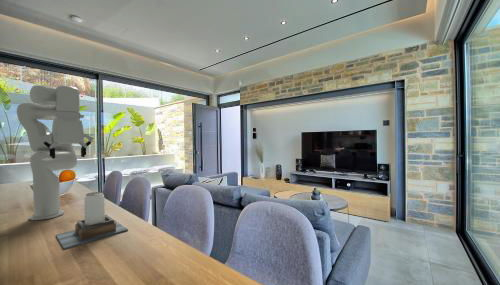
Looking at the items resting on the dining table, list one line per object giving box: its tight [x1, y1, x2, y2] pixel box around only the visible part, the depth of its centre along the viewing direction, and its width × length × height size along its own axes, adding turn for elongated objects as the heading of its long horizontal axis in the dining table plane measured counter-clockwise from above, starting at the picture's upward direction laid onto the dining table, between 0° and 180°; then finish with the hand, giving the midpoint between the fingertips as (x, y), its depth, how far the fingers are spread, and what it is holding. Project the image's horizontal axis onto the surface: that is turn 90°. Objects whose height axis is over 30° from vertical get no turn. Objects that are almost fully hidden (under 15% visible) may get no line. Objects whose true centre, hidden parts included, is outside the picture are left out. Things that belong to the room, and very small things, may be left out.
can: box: [84, 191, 106, 226], centre depth 87 cm, size 6×6×12 cm
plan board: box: [55, 214, 129, 250], centre depth 87 cm, size 16×20×5 cm
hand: (68, 157), depth 92 cm, fingers open, 9 cm apart
